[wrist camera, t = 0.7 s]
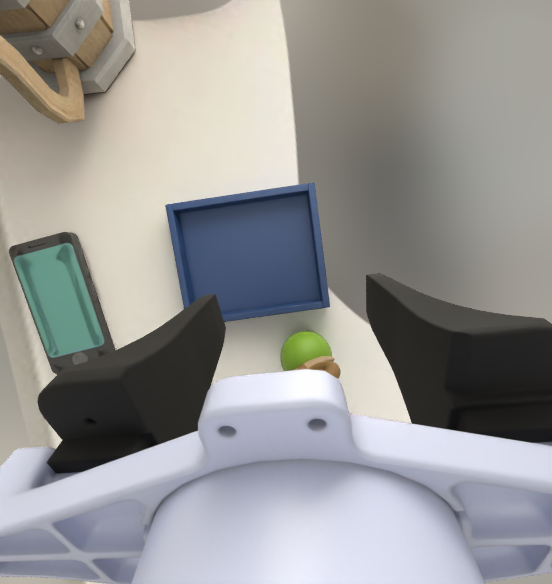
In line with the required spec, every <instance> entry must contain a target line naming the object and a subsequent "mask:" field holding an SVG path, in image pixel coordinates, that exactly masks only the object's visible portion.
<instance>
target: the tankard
mask: <svg viewBox="0 0 552 584" xmlns="http://www.w3.org/2000/svg"><path fill="white" fill-rule="evenodd" d="M134 51H135V45H134V37H133V29H132V21H131V13H130V6H129V0H0V74H1V75H3V76H4V77H5V78H6V79H7V80H8V82H9V83H10V84H11V85H12V86H13V87H14V88H15V89H16V90H17V91H18V92H19V93H20V94H21V95H22V96H23V97H24V98H25V99H26V100H27V101H28V102H29V103H30V104H31V105H32V106H33V107H34V108H35V109H36V110H37V111H38V112H40V113H42V114H43V115H45V116H47V117H48V118H50V119H52V120H54V121H55V122H57V123H68V122H76V121H84V96H83V94H88V93H98V92H106V90H107V89H108V87H109V86H110V85H111V83H112V82H113V80H114V79H115V78H116V76H117V75H118V73H119V72H120V71H121V69H122V68H123V67H124V65H125V64H126V62H127V61H128V60H129V58H130V57H131V55H132V54H133V53H134Z"/></svg>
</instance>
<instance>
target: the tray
mask: <svg viewBox="0 0 552 584" xmlns="http://www.w3.org/2000/svg"><path fill="white" fill-rule="evenodd" d="M166 211H167V216H168V222H169V228H170V233H171V239H172V244H173V250H174V255H175V261H176V267H177V272H178V278H179V283H180V289H181V294H182V300H183V305H184V309H185V308H187V307H188V306H189V305H191V304H192V303H193V302H195V301H196V300H197V299H199V298H200V297H202V296H204V295H211V294H216V297H217V300H218V304H219V307H220V310H221V314H222V317H223V321H224V322H226V321H233V320H241V319H248V318H255V317H262V316H269V315H277V314H284V313H291V312H298V311H305V310H313V309H320V308H327V307H330V304H329V296H328V287H327V280H326V271H325V263H324V255H323V248H322V239H321V231H320V224H319V215H318V207H317V199H316V191H315V184H314V183H308V184H301V185H294V186H287V187H281V188H274V189H267V190H261V191H254V192H247V193H241V194H234V195H227V196H221V197H214V198H207V199H201V200H194V201H187V202H181V203H174V204H167V205H166Z"/></svg>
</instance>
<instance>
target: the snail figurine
mask: <svg viewBox="0 0 552 584" xmlns="http://www.w3.org/2000/svg"><path fill="white" fill-rule="evenodd" d="M333 361H334V358H333V357H332V352H331V349H330V347H329V345H328V343H327V342H326V340H325V339H324V338H323V337H321V336H320V335H318V334H316V333H314V332H309V331H302V332H298V333H295V334H293V335H292V336H290V337H289V338H288V339H287V340H286V342H285V343H284V345H283V347H282V350H281V364H282V367H283V369H284V371H293V370H303V369H310V370H320V371H326V372H327V373H329V374H331V375H332V376H334V377H336V378H337V379H338V378H339V376H340V368H339V366H338V365H337V364H336V363H335V362H333Z"/></svg>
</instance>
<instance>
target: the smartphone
mask: <svg viewBox="0 0 552 584" xmlns="http://www.w3.org/2000/svg"><path fill="white" fill-rule="evenodd" d="M9 254H10V257H11V260H12V262H13V265H14V268H15V271H16V273H17V276H18V279H19V281H20V284H21V287H22V290H23V292H24V295H25V298H26V301H27V303H28V306H29V309H30V312H31V314H32V317H33V320H34V323H35V325H36V328H37V331H38V334H39V336H40V339H41V342H42V345H43V347H44V350H45V353H46V356H47V358H48V361H49V364H50V366H51V369H52V371H53V372H54V373H55V374H59V373H60V372H61V370H63V369H64V368H68V367H71V366H74V365H77V364H80V363H83V362H86V361H89V360H92V359H95V358H98V357H101V356H103V355H106V354H108V353H111V352H113V351H115V348H114V345H113V342H112V339H111V336H110V333H109V330H108V327H107V324H106V321H105V318H104V315H103V312H102V309H101V306H100V303H99V300H98V297H97V294H96V291H95V288H94V285H93V282H92V279H91V276H90V273H89V270H88V267H87V264H86V261H85V258H84V255H83V252H82V249H81V247H80V244H79V241H78V238H77V236H76V235H75V234H74V233H68V232H62V233H59V234H55V235H51V236H48V237H44V238H40V239H37V240H33V241H29V242H26V243H22V244H18V245H15V246H12V247H11V248H10V249H9Z"/></svg>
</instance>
